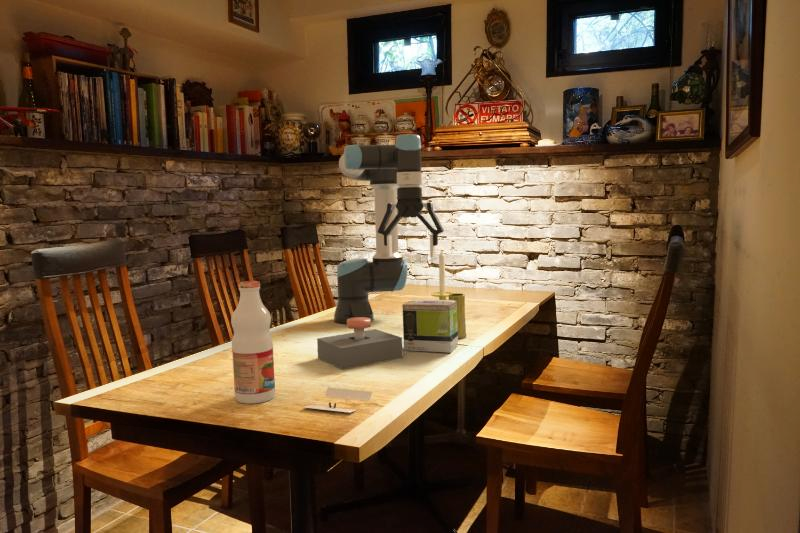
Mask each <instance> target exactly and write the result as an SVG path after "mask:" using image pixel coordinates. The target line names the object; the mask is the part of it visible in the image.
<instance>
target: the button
mask: <svg viewBox="0 0 800 533" xmlns="http://www.w3.org/2000/svg"><path fill="white" fill-rule="evenodd" d="M371 324H372V321H371V319H370V318H366V317H356V318H350V319H347V324H346V327H347V328H348V329H351V330H353V333H354V340H355V341H358V340H364V339H365V337H364V331H365V329H369V328H371V327H372V325H371Z"/></svg>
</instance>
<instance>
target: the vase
mask: <svg viewBox="0 0 800 533" xmlns="http://www.w3.org/2000/svg"><path fill="white" fill-rule="evenodd" d="M452 293H453V292H452ZM465 298H466V297H465V293H458V292H457V293H455V292H454V293H453V294H449V296H448V300H457V323H458V340H460V339H461V340H462V339H465V338H467V328H466V326H467V325H466V310H465V307H466V305H465V304H466V303H465V300H466V299H465Z"/></svg>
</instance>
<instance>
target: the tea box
mask: <svg viewBox="0 0 800 533" xmlns="http://www.w3.org/2000/svg"><path fill="white" fill-rule="evenodd" d="M401 306H402V330H403V332H402V333H403V337H402V339H403V350H404V351H409V352H410V351H411V352H412V351H413V352H431V353H445V354H446V353H449V354H450V353H453V351H454V350H455V349H456V348H457V347H458V345H459V339H458V323H457V300H449V299H446V300H439V299H410V300H408V301H407V302H405V303H402V305H401Z"/></svg>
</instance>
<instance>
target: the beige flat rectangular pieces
mask: <svg viewBox="0 0 800 533" xmlns="http://www.w3.org/2000/svg"><path fill="white" fill-rule="evenodd" d="M372 394H373V391H369V390H359V389H358V390H357V389H347V388H338V387H337V388H336V387H327V388H326V390H325V394H324V397H327V398H328V397H330V398H340V399H349V400H356V401H358V400H359V401H366V402H367V401H368V402H370V401H371V397H372ZM303 408H306V409H312V410H313V409H315V410H322V411H323V410H324V411H332V412H333V411H334V412H339V413H340V412H343V413H353V412H356V411H357V409H351V408H348V409H347V408H340V407H337V403H336V402H335V403H334V404H333V407H332V403H331V402H330V401H329V402H328V406H322V405H315V404H314V405H313V404H311V405H307V406H303Z"/></svg>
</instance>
